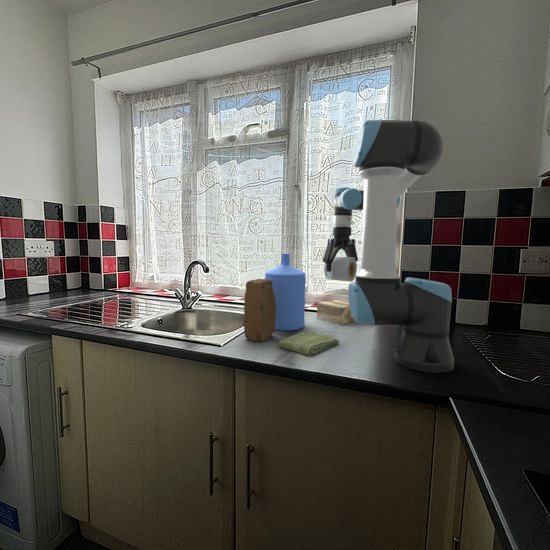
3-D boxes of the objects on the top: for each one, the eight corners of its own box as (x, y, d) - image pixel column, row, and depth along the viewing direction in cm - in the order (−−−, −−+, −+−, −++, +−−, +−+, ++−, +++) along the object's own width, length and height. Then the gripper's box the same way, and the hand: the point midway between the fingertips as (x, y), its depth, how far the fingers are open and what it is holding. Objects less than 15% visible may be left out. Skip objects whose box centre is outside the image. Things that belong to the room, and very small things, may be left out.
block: (259, 344, 107) (259, 282, 105) (241, 339, 111) (241, 280, 109) (278, 336, 116) (279, 279, 113) (261, 332, 120) (261, 277, 118)
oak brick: (339, 325, 133) (340, 307, 132) (316, 318, 144) (317, 302, 143) (360, 320, 141) (361, 304, 140) (337, 314, 151) (338, 299, 150)
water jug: (311, 329, 125) (313, 254, 122) (272, 333, 119) (274, 254, 116) (294, 319, 139) (295, 252, 136) (258, 322, 134) (259, 252, 131)
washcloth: (341, 344, 109) (341, 335, 109) (310, 358, 96) (311, 348, 95) (308, 336, 117) (308, 327, 117) (275, 348, 104) (275, 338, 104)
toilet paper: (356, 280, 141) (357, 256, 140) (346, 282, 133) (347, 257, 132) (334, 278, 147) (335, 255, 146) (323, 280, 139) (324, 256, 138)
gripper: (328, 225, 128) (326, 281, 130) (368, 227, 142) (365, 278, 144) (314, 225, 134) (313, 279, 136) (354, 227, 148) (352, 276, 150)
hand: (340, 278), depth 140 cm, fingers closed on toilet paper, 11 cm apart
